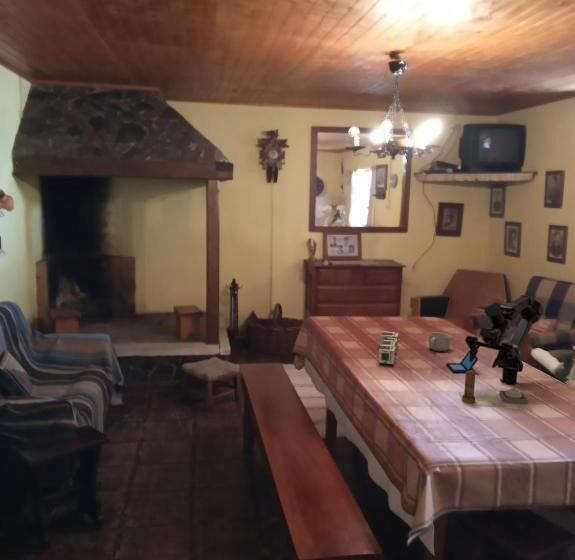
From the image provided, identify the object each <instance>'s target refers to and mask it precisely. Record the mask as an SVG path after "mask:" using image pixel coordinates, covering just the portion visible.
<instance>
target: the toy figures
mask: <svg viewBox="0 0 575 560" xmlns="http://www.w3.org/2000/svg"><path fill="white" fill-rule="evenodd" d="M379 341H380V344H379V349H378V364H388V365H394V364H395V360H396V353H397V350H398V349H397V348H398V346H399V332H393V331H383V330H382V331H381V334H380V340H379Z"/></svg>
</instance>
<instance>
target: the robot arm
mask: <svg viewBox="0 0 575 560" xmlns="http://www.w3.org/2000/svg"><path fill="white" fill-rule="evenodd" d="M544 312H545V309H544V307H543V305H542V304H541V302H539V301H538V300H536V299H535V297H534V296H532V295H526V294H522V295H520V296H519V297H518V298H516V299H515V300H512V301H510V302H506V303H505V302H504V303H498V302H493V304H491V305H488V306H487V307H485V311H484V313H485V315H486V317H487V320H488V322H489V323H490V324H491V325H490V327H483V326H482V327H481V328H480V330H479V335H478V336H480V337H481V340H482V341H481V340H479V339H478V337H477V336H473V335H466V337H465V338H464V342H465V344H466V345H467V347H468V348H469V351H470V360H469V361H470V362H472V361H473V359H474V358H475V356H476V357H477V354H478V353H479V349H480V347H482V348H486V349H490V350H493V351H494V350H495V351H498V353H497V355H496V357H495V359H494V361H493V363H492V368H493V369H494V368H496V367H497V368H498V369H502V373H501V374H502V375H501V378H499V382H500V383H504V384H507V385H508V386H509V385H511V386H512V385H513V386H515V385H516V384H518V373H521V372H523V370H524V363H523V361H522V356H521V349H522V348H523V345H524V344H525V341H526V339H527V337H528V334H529V333H530V330H531V329H532V326H533V324H535V323H538V322H539V321H540V319H541V317H542V316H543V315H544ZM519 313H520V316H521V319H520V321H519V323H518V325H517V327H516V329H515V331H514V333H513V336H512V337H511V340H510V341H509V343H507V342H504V340H505V339H504V336H505V334H506V332H507V330H510V323H509V321H514V320H515V319H516V318H518V314H519ZM501 342H502V343H501Z"/></svg>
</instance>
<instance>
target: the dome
mask: <svg viewBox="0 0 575 560" xmlns="http://www.w3.org/2000/svg"><path fill="white" fill-rule="evenodd" d="M504 391H505V397H507V398H519V399H522V393H521V392H522V391H519V390H518V389H517V388H516V387H511V388H509V389H508V390H504Z"/></svg>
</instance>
